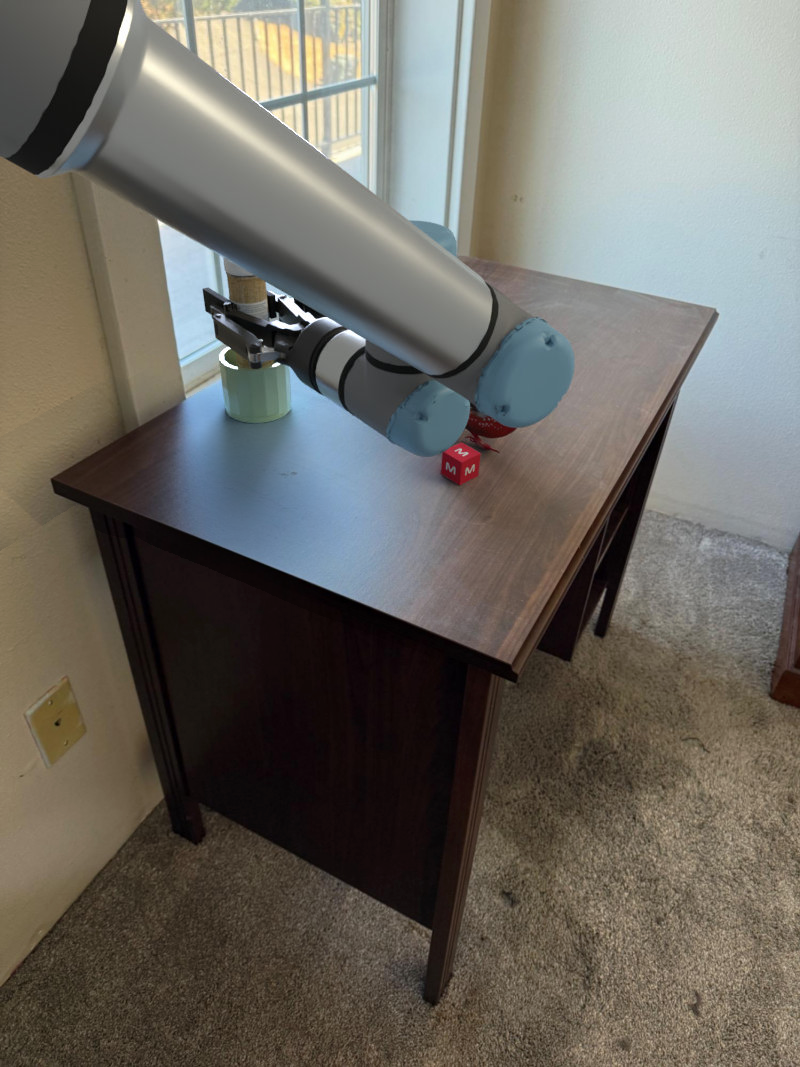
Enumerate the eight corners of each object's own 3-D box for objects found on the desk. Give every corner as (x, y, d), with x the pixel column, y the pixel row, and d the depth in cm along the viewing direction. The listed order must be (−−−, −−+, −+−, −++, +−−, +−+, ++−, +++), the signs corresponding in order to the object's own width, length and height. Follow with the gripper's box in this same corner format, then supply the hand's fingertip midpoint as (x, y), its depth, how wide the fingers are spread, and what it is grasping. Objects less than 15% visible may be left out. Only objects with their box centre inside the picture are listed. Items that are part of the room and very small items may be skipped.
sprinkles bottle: (271, 355, 93) (263, 244, 84) (275, 371, 89) (266, 258, 81) (234, 357, 92) (221, 246, 83) (236, 374, 88) (223, 259, 80)
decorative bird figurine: (520, 474, 84) (533, 395, 78) (405, 418, 93) (408, 342, 87) (535, 465, 86) (549, 386, 79) (420, 410, 95) (424, 335, 89)
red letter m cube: (478, 476, 83) (481, 453, 81) (459, 485, 82) (461, 462, 80) (459, 464, 85) (461, 442, 83) (440, 473, 83) (442, 450, 82)
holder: (226, 425, 90) (219, 372, 86) (224, 394, 96) (218, 343, 92) (294, 420, 92) (291, 368, 87) (288, 389, 98) (284, 339, 94)
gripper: (272, 422, 73) (163, 342, 87) (406, 375, 82) (288, 309, 96) (266, 351, 69) (152, 278, 82) (409, 309, 78) (285, 249, 91)
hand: (225, 294), depth 89 cm, fingers closed on sprinkles bottle, 4 cm apart
